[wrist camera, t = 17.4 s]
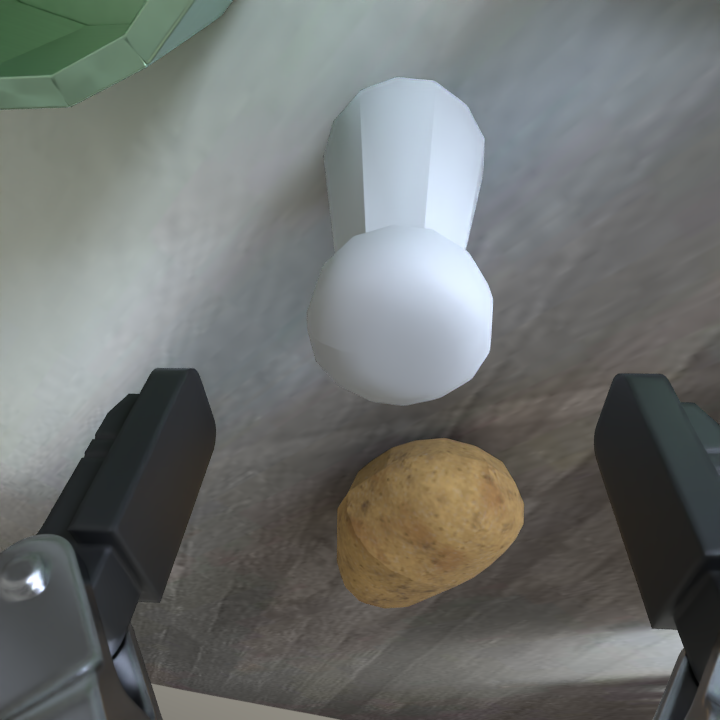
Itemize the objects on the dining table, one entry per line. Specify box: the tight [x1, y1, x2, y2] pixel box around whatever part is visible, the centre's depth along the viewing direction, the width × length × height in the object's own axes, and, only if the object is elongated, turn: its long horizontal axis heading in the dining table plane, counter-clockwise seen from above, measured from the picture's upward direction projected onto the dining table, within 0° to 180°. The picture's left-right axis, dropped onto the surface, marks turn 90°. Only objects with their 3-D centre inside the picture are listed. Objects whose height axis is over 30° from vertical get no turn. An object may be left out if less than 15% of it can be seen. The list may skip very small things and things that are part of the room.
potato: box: [337, 438, 524, 608], centre depth 32 cm, size 10×14×8 cm
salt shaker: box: [307, 77, 493, 406], centre depth 16 cm, size 6×6×13 cm
